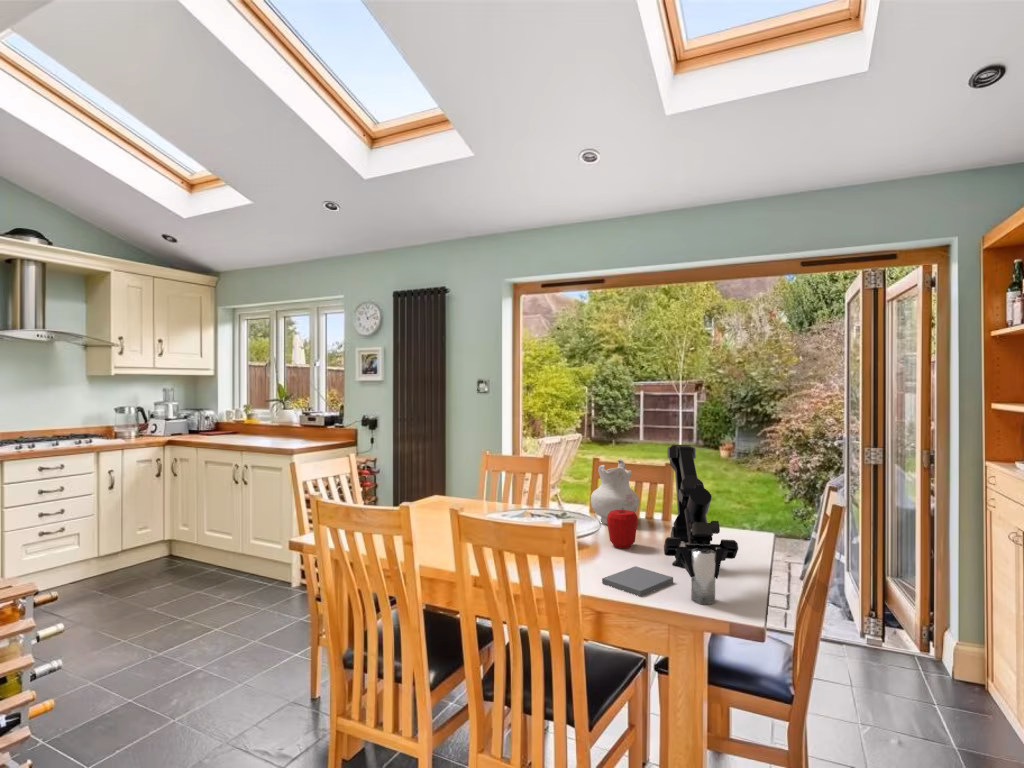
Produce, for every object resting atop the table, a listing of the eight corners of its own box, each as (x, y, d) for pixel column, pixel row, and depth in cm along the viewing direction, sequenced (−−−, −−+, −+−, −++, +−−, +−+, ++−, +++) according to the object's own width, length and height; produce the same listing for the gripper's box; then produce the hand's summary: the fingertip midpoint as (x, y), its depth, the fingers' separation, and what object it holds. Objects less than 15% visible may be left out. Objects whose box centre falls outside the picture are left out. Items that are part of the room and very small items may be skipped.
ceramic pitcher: (596, 516, 247) (591, 459, 247) (641, 515, 241) (637, 457, 242) (589, 529, 226) (585, 466, 226) (639, 528, 221) (634, 465, 221)
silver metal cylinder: (694, 594, 154) (694, 546, 154) (717, 599, 151) (717, 549, 151) (688, 601, 149) (689, 551, 149) (712, 606, 146) (712, 555, 146)
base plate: (635, 571, 173) (635, 566, 173) (673, 582, 163) (673, 577, 163) (602, 583, 162) (602, 578, 162) (640, 596, 152) (640, 591, 152)
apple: (635, 542, 203) (635, 504, 203) (639, 551, 193) (639, 511, 193) (605, 541, 204) (606, 503, 204) (607, 550, 194) (608, 510, 194)
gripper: (665, 507, 155) (670, 560, 144) (736, 510, 152) (747, 564, 141) (661, 529, 163) (666, 580, 152) (729, 531, 160) (739, 584, 149)
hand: (704, 577), depth 148 cm, fingers closed on silver metal cylinder, 6 cm apart
